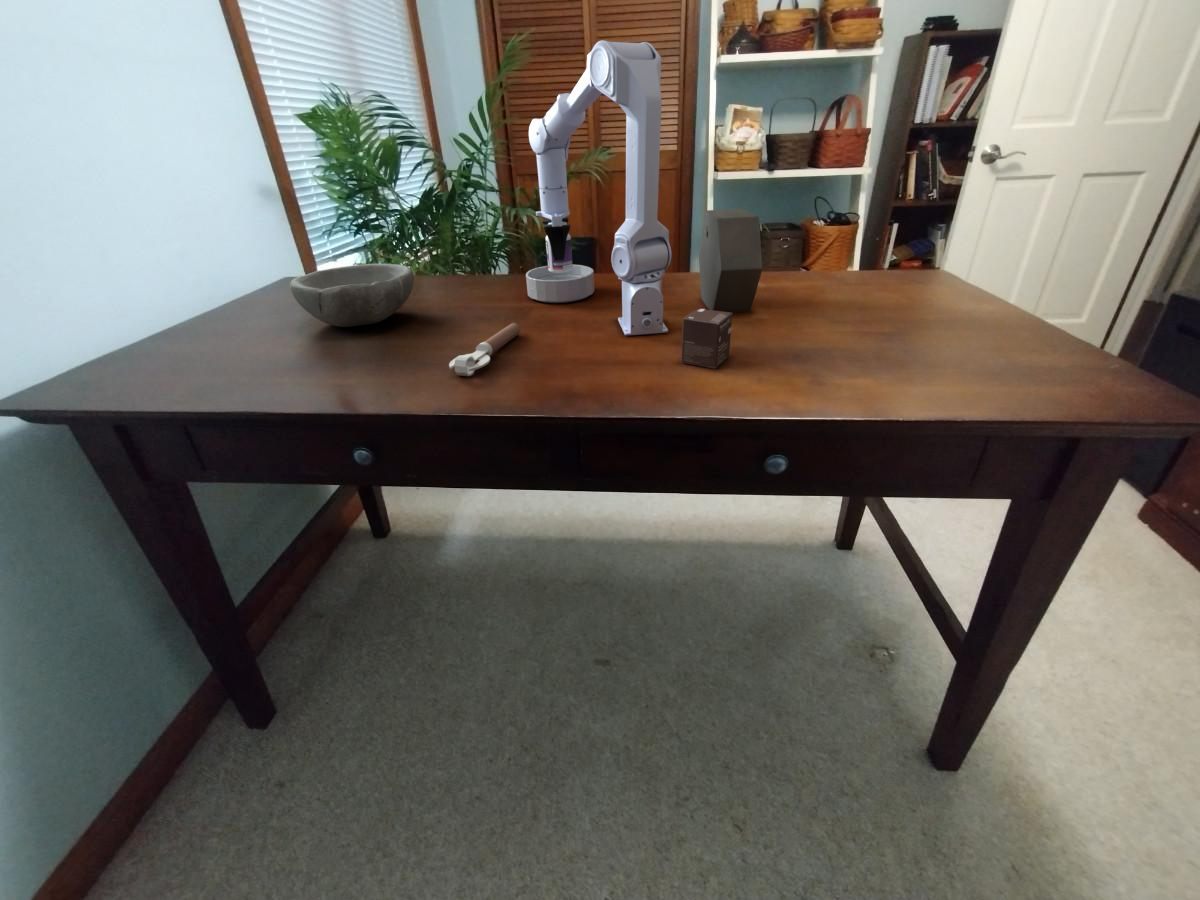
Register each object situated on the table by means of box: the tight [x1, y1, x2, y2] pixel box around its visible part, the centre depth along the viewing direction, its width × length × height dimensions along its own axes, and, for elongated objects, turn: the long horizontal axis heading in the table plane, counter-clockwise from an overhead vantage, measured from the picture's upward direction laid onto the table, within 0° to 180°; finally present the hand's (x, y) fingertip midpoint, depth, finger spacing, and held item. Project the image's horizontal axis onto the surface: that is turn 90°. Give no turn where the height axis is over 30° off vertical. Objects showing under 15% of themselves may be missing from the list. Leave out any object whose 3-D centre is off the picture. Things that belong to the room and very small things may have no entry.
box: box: [680, 308, 734, 369], centre depth 85 cm, size 6×6×7 cm
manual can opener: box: [448, 322, 521, 377], centre depth 92 cm, size 21×6×3 cm, turn 167°
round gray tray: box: [525, 264, 595, 304], centre depth 122 cm, size 15×15×5 cm
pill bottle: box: [545, 222, 574, 273], centre depth 117 cm, size 5×5×10 cm
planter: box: [698, 208, 763, 313], centre depth 108 cm, size 17×8×21 cm
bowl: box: [289, 263, 415, 328], centre depth 109 cm, size 23×22×10 cm
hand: (558, 256), depth 118 cm, fingers closed on pill bottle, 5 cm apart
